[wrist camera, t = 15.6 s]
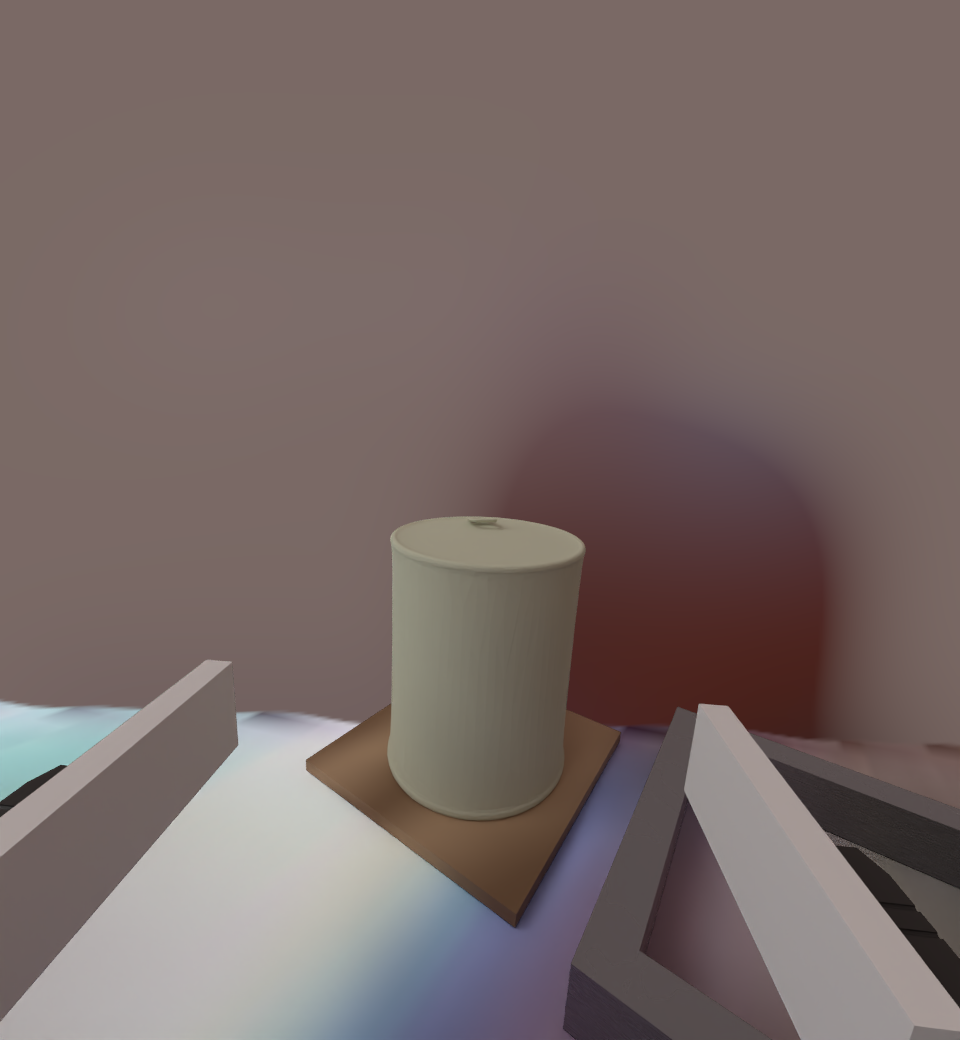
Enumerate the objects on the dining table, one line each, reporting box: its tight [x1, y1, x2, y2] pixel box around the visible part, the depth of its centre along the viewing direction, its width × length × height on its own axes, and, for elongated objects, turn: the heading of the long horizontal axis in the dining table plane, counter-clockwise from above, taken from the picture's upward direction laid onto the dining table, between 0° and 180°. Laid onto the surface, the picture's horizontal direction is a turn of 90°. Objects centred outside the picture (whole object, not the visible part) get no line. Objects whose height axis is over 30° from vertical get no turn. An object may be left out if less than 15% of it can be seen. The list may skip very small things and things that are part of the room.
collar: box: [563, 707, 960, 1040], centre depth 15 cm, size 15×15×2 cm
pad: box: [306, 704, 621, 927], centre depth 24 cm, size 12×12×1 cm
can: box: [387, 517, 586, 821], centre depth 22 cm, size 9×9×12 cm
